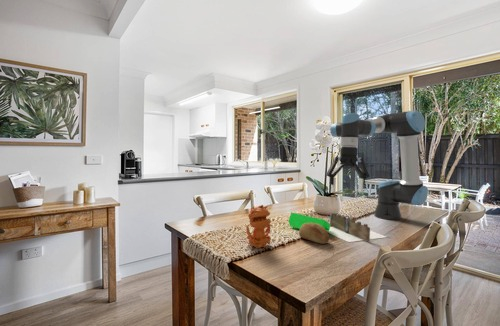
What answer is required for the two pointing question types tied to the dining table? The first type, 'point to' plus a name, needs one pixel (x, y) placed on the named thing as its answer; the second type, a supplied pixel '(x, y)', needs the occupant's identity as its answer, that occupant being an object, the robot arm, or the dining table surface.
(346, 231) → the hinge post
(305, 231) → the bread roll
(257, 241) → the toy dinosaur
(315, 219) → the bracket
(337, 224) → the fence fixed
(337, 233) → the card
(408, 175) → the robot arm
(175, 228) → the dining table surface
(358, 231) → the fence panel
